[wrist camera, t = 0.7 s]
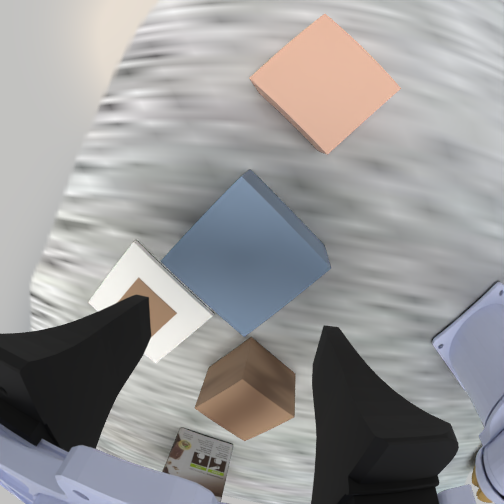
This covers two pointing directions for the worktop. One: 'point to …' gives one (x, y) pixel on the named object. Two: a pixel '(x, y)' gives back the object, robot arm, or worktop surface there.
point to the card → (153, 299)
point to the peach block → (324, 84)
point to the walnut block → (248, 391)
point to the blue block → (248, 255)
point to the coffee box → (200, 460)
